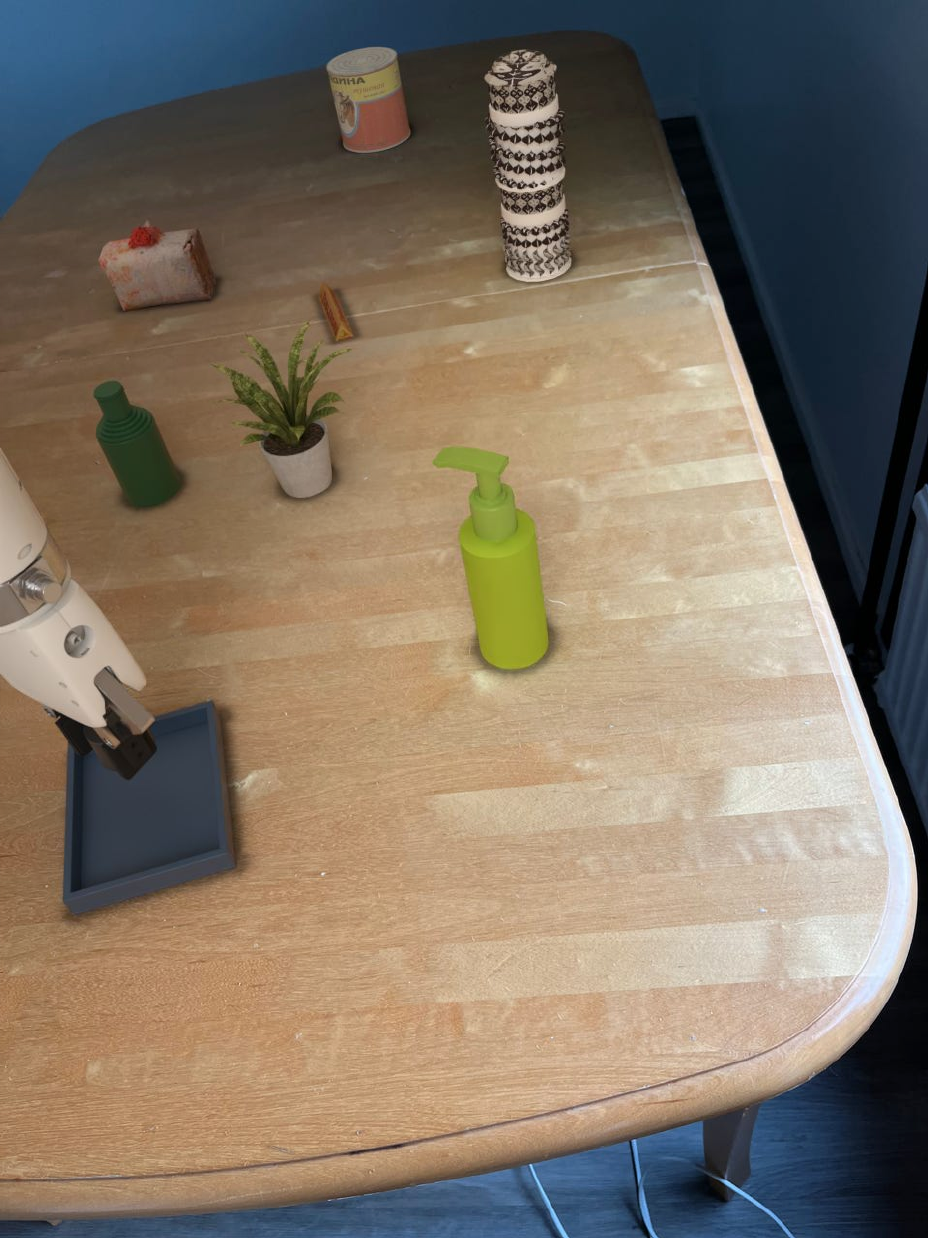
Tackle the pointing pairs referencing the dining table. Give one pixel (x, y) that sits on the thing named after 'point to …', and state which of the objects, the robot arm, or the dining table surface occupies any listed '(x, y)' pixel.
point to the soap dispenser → (500, 563)
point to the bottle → (134, 448)
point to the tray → (149, 815)
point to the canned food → (369, 99)
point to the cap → (98, 742)
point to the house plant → (289, 418)
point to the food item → (158, 268)
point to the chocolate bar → (334, 313)
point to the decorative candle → (529, 165)
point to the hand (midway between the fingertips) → (117, 751)
